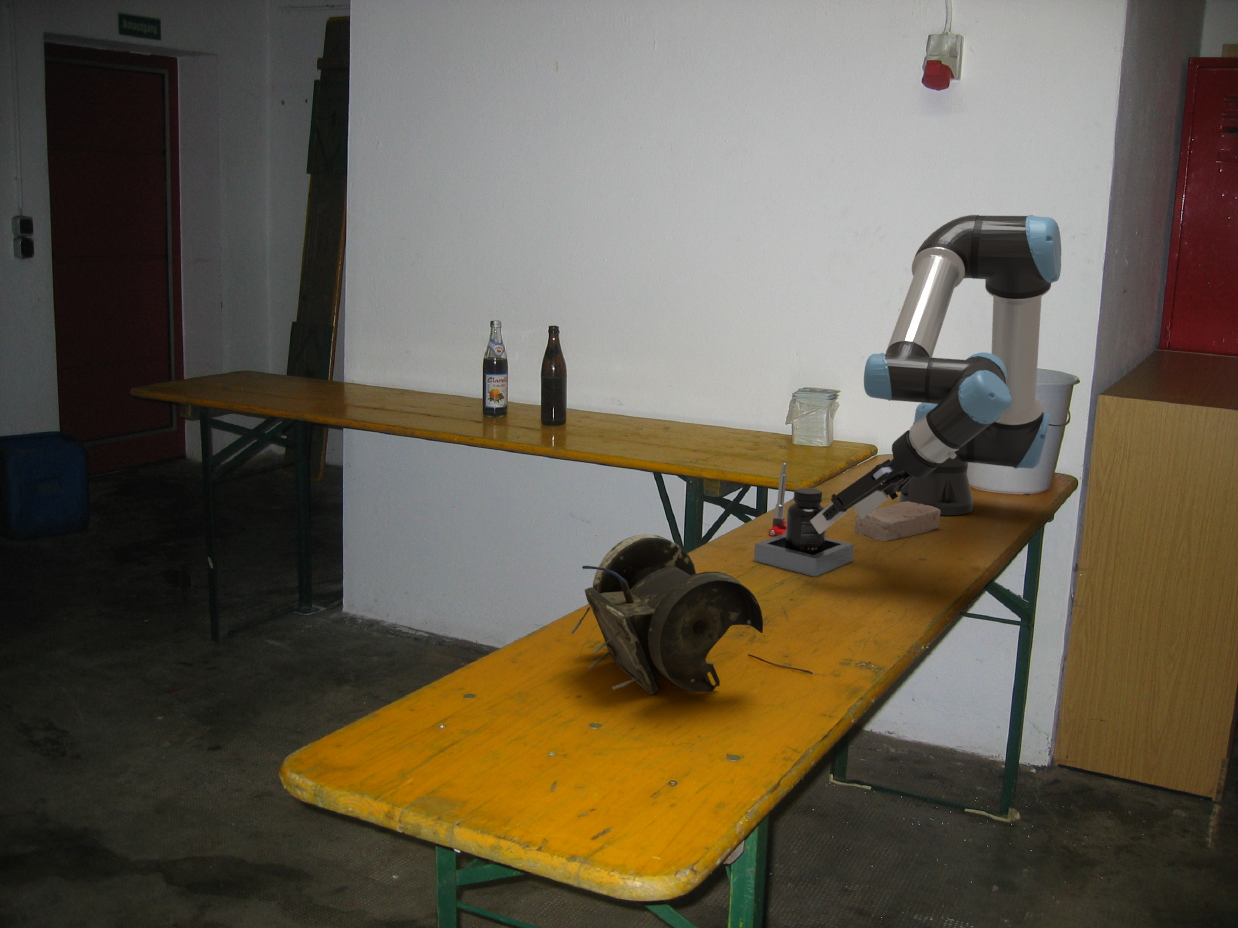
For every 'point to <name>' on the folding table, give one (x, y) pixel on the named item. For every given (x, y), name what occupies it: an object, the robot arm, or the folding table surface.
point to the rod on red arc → (780, 506)
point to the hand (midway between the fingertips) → (837, 519)
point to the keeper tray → (803, 556)
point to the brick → (898, 521)
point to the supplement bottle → (804, 522)
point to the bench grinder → (664, 612)
